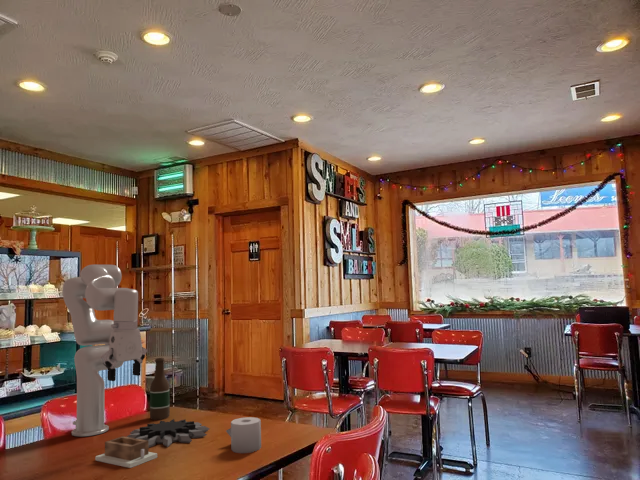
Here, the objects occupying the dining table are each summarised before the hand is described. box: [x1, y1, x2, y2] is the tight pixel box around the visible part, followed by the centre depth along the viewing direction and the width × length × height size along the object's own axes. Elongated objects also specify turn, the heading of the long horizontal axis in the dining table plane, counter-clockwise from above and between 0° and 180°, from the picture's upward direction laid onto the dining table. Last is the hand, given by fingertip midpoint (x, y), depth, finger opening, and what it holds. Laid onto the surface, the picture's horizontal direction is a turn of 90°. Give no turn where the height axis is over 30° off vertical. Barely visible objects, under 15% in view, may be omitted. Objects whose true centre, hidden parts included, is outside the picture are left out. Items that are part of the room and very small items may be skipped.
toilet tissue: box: [225, 416, 262, 454], centre depth 160 cm, size 9×13×9 cm
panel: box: [95, 449, 158, 469], centre depth 153 cm, size 16×10×4 cm, turn 60°
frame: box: [104, 435, 149, 461], centre depth 153 cm, size 12×6×4 cm, turn 60°
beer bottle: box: [149, 357, 171, 421], centre depth 205 cm, size 8×8×24 cm
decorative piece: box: [126, 418, 211, 449], centre depth 176 cm, size 30×4×30 cm
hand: (124, 377), depth 165 cm, fingers open, 9 cm apart
